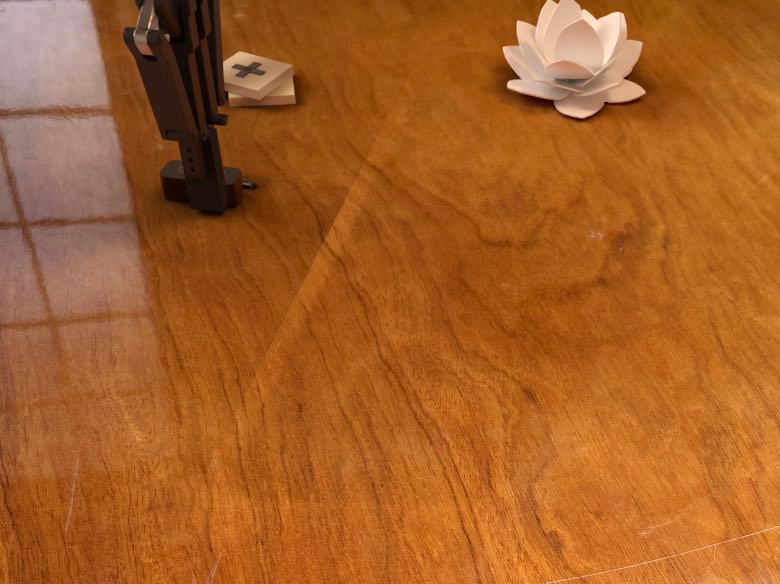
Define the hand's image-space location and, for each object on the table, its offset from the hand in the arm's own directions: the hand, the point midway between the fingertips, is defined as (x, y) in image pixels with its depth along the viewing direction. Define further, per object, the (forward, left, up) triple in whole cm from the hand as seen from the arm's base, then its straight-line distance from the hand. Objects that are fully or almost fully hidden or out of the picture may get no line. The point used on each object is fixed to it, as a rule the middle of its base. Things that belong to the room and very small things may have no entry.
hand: (209, 205), depth 95 cm
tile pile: (-3, +21, -2) cm, 21 cm away
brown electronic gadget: (-1, +3, -2) cm, 3 cm away
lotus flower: (+26, +32, -2) cm, 41 cm away
